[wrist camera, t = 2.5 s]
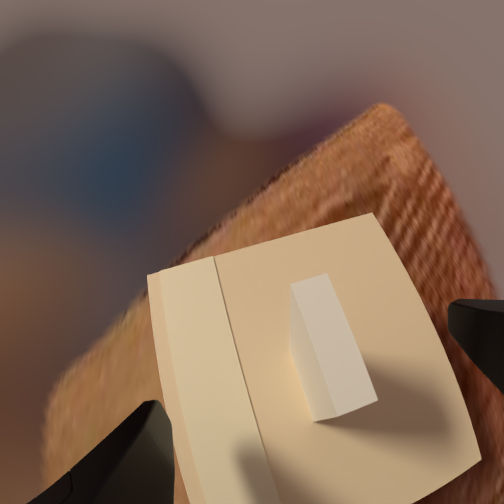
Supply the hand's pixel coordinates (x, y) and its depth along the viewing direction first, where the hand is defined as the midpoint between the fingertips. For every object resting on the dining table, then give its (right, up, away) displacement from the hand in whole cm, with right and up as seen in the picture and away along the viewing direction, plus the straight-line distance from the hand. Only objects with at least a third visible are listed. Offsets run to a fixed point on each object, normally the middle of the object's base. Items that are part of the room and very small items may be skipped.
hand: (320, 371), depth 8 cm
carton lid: (0, -1, +2) cm, 3 cm away
